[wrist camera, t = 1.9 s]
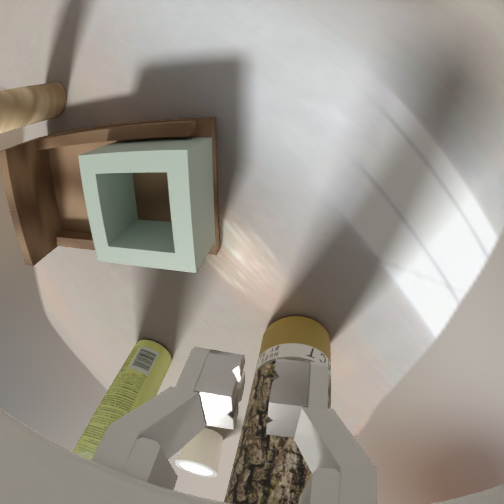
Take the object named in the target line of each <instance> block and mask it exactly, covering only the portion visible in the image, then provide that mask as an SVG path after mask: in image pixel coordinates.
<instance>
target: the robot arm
mask: <svg viewBox="0 0 504 504" xmlns="http://www.w3.org/2000/svg"><path fill="white" fill-rule="evenodd" d="M244 364H245V357H244V355H241V354H234V353H229V352H223V351H217V350H212V349H205V348H200V347H194V348H193V349H192V350H191V353H190V355H189V357H188V360H187V362H186V364H185V366H184V369H183V371H182V373H181V376H180V378H179V380H178V382H177V385H176V387H169V388H168V389H166V390H165V391H163V392H161V393H160V394H158V395H157V396H155V397H154V398H152V399H150V400H149V401H147V402H146V403H144V404H142V405H141V406H139V407H138V408H136V409H134V410H133V411H131V412H129V413H128V414H126V415H124V416H123V417H121V418H120V419H118V420H116V421H115V422H113V423H111V424H110V425H109V427H108V429H107V431H106V433H105V434H104V436H103V438H102V440H101V442H100V444H99V446H98V448H97V450H96V452H95V454H94V456H93V458H92V460H90V459H87V458H85V457H83V456H81V455H79V454H77V453H75V452H73V451H70V450H69V449H67V448H65V447H63V446H61V445H59V444H57V443H55V442H54V441H51V440H50V439H48V438H46V437H44V436H43V435H41V434H39V433H38V432H36V431H34V430H32V429H31V428H29V427H28V426H26V425H24V424H23V423H21V422H20V421H18V420H17V419H15V418H14V417H12V416H11V415H9V414H8V413H6V412H5V411H3V410H2V409H0V504H231V503H225V502H220V501H215V500H210V499H206V498H201V497H197V496H193V495H189V494H185V493H181V492H177V491H174V487H175V483H176V480H177V477H178V476H177V475H176V473H175V471H174V470H173V468H172V466H171V464H170V463H169V461H168V459H169V458H170V457H172V456H173V455H174V454H175V453H176V452H178V451H179V450H180V449H181V448H182V447H184V446H185V445H186V444H187V443H188V442H189V441H191V440H192V439H193V438H194V437H195V436H196V435H197V434H199V433H200V432H201V431H202V430H203V429H204V428H205V427H206V425H208V426H214V427H220V428H226V429H233V430H234V427H235V423H236V419H237V415H238V403H239V402H240V401H241V399H242V395H243V390H244V383H245V372H244V371H243V368H244ZM266 434H267V435H274V436H282V437H290V438H294V440H295V442H296V444H297V446H298V448H299V450H300V452H301V454H302V456H303V458H304V459H305V461H306V463H307V465H308V467H309V469H310V471H311V473H312V476H311V477H310V479H309V481H308V483H307V485H306V486H305V488H304V490H303V492H302V493H301V495H300V498H299V504H377V473H376V466H375V465H374V463H373V462H372V461H371V459H370V458H369V457H368V456H367V454H366V453H365V451H364V450H363V449H362V447H361V446H360V445H359V443H358V442H357V441H356V439H355V438H354V437H353V435H352V434H351V433H350V431H349V430H348V429H347V427H346V426H345V424H344V423H343V422H342V420H341V419H340V418H339V416H338V415H337V414H336V412H335V411H334V409H328V364H327V363H323V362H310V361H299V360H287V359H276V363H275V369H274V378H273V382H272V387H271V393H270V399H269V407H268V420H267V428H266ZM432 504H504V485H501V486H498V487H495V488H491V489H488V490H485V491H482V492H478V493H475V494H471V495H468V496H464V497H460V498H455V499H452V500H447V501H442V502H438V503H432Z"/></svg>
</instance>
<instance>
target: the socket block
mask: <svg viewBox="0 0 504 504" xmlns="http://www.w3.org/2000/svg"><path fill="white" fill-rule="evenodd" d="M78 158H79V165H80V172H81V179H82V185H83V191H84V197H85V203H86V208H87V214H88V219H89V224H90V228H91V233H92V237H93V242H94V246H95V250H96V255H97V259H98V261H104V262H111V263H119V264H127V265H134V266H142V267H150V268H158V269H167V270H175V271H184V272H192V273H196V272H197V271H198V269H199V267H200V266H201V264H202V262H203V261H204V259H205V257H206V256H207V254H208V252H209V251H210V249H211V247H212V246H213V244H214V242H215V241H216V238H215V216H214V191H213V160H212V137H198V138H164V139H144V140H130V141H117V142H113V143H110V144H108V145H105V146H102V147H99V148H97V149H94V150H91V151H89V152H86V153H84V154H81V155H79V156H78ZM147 172H167V177H168V189H169V201H170V211H171V221H172V222H166V221H150V220H138V213H137V206H136V198H135V190H134V181H133V173H147Z"/></svg>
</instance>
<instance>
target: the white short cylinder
mask: <svg viewBox="0 0 504 504" xmlns="http://www.w3.org/2000/svg"><path fill="white" fill-rule="evenodd" d="M222 443H223V437H222V436H221V435H220V434H219V433H218V432H216V431H214V430H211V429H208V428H204V429H203V430H202V431H201V432H200V433H199V434H197V435H196V436H195V437H194V438H193V439H192V440H191V441H189V442H188V443H187V444H186V445H185V446H184V447H182V449H181V451H180V453H179V455H178V457H177V459H176V461H175V464H176V465H177V466H178V467H179V468H181V469H182V470H184V471H186V472H189V473H191V474H195V475H198V476H204V477H215V476H216V475H217V473H218V467H219V461H220V455H221V449H222Z"/></svg>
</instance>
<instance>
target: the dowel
mask: <svg viewBox="0 0 504 504" xmlns="http://www.w3.org/2000/svg"><path fill="white" fill-rule="evenodd" d="M65 105H66V91H65V89H64V87H63V86H62V85H61V84H60V83H47V84H40V85H33V86H26V87H20V88H14V89H9V90H3V91H0V133H3V132H6V131H9V130H12V129H16V128H19V127H22V126H26V125H29V124H33V123H36V122H40V121H44V120H48V119H52V118H56V117H58V116H59V115H60V114H61V113H62V112H63V110H64V108H65Z"/></svg>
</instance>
